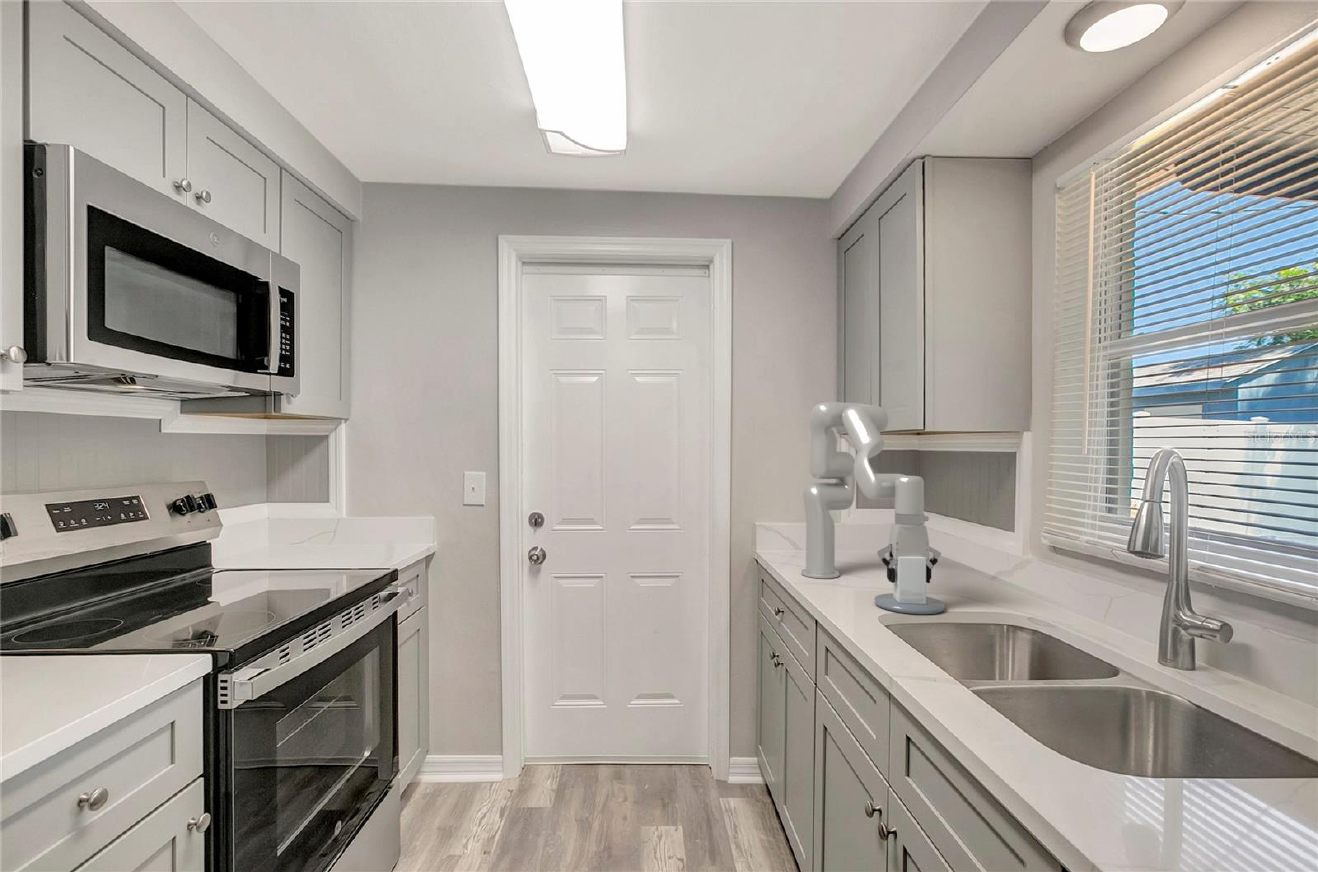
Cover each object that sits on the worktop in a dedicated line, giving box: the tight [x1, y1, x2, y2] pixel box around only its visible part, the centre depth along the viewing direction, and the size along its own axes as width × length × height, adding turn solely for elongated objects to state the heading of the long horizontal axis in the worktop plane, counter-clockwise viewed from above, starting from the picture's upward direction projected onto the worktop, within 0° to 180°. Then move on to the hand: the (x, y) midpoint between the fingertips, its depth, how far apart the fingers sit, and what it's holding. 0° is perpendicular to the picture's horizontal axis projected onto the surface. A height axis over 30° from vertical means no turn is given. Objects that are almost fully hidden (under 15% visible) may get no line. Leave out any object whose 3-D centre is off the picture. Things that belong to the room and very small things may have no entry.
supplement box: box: [892, 557, 927, 604], centre depth 174 cm, size 7×7×13 cm
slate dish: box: [874, 592, 946, 615], centre depth 173 cm, size 18×18×2 cm
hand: (909, 581), depth 173 cm, fingers open, 9 cm apart
